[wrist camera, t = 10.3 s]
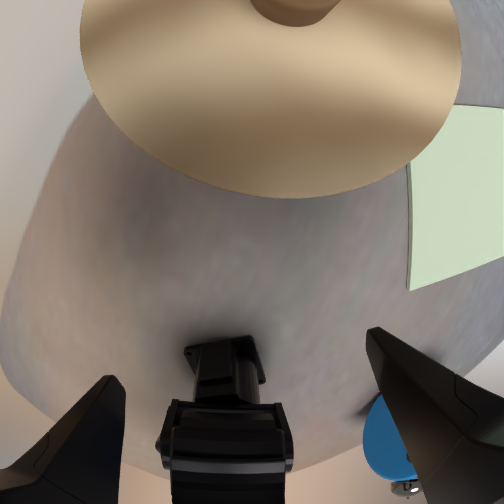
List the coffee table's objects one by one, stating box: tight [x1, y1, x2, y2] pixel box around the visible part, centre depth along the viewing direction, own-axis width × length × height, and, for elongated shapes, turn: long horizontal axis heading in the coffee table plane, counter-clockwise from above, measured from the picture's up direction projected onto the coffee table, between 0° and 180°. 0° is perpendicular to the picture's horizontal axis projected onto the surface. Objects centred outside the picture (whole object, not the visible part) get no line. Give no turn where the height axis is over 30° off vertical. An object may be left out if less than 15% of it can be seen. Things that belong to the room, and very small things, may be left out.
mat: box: [407, 105, 504, 291], centre depth 20 cm, size 16×16×1 cm
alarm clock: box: [363, 395, 423, 499], centre depth 24 cm, size 13×6×15 cm, turn 151°
